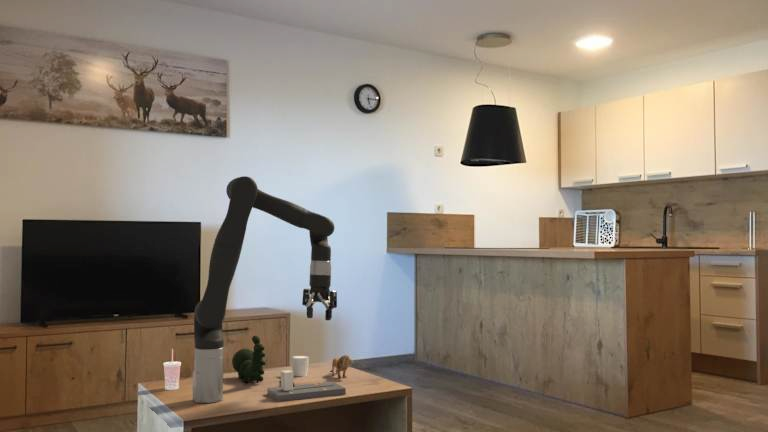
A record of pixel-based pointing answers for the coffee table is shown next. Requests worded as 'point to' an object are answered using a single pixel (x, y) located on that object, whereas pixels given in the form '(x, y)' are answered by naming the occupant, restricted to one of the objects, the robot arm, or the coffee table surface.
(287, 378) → the cylinder
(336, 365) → the lion figurine
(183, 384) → the coffee table surface
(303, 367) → the white cup
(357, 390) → the coffee table surface
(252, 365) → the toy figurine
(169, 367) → the beverage cup
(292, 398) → the console
